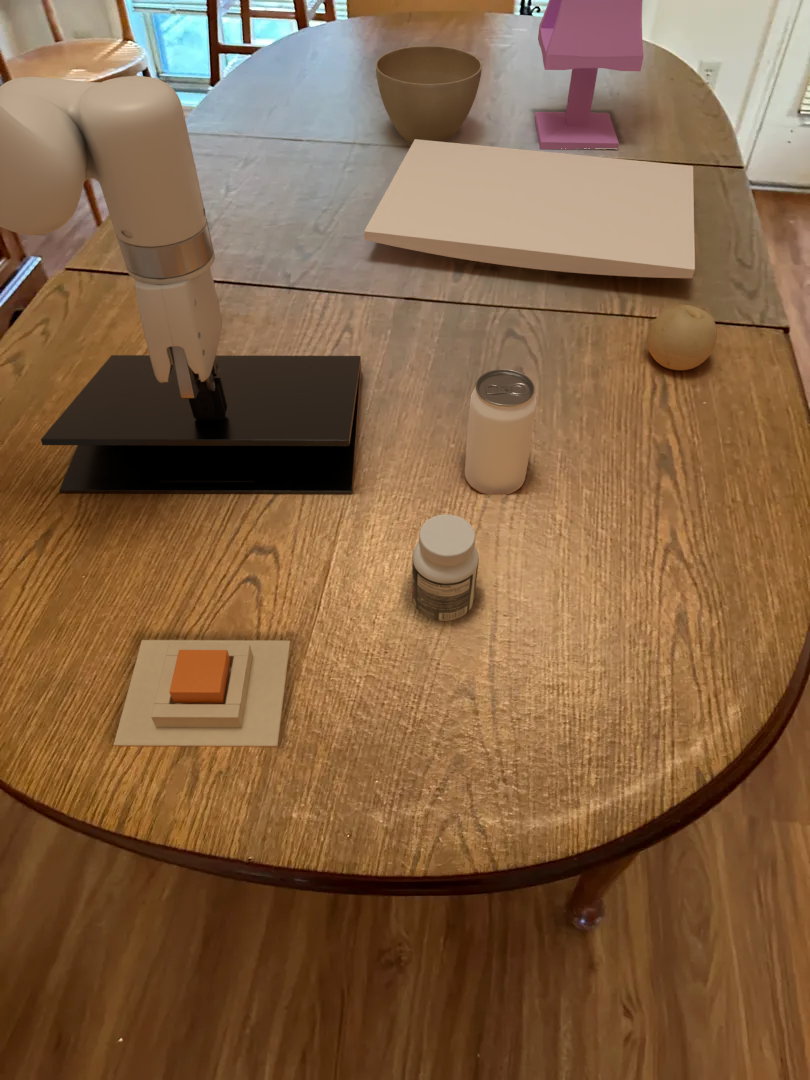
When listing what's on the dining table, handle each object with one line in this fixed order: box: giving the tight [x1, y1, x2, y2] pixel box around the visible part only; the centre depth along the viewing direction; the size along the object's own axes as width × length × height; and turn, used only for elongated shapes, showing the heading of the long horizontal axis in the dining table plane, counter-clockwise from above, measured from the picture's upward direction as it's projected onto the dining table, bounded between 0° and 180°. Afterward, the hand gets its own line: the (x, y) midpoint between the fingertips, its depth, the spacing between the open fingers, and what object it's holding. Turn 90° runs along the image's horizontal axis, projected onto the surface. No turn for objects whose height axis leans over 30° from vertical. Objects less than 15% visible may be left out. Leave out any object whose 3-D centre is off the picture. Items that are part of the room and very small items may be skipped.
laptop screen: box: [40, 354, 362, 446], centre depth 85 cm, size 22×30×1 cm
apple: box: [646, 303, 718, 371], centre depth 95 cm, size 8×8×8 cm
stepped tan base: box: [113, 639, 291, 748], centre depth 65 cm, size 13×10×3 cm
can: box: [464, 368, 537, 496], centre depth 80 cm, size 6×6×12 cm
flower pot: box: [375, 45, 483, 145], centre depth 138 cm, size 18×18×12 cm
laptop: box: [58, 362, 363, 496], centre depth 88 cm, size 22×30×2 cm
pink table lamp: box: [534, 0, 644, 150], centre depth 130 cm, size 16×16×35 cm
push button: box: [169, 650, 231, 703], centre depth 64 cm, size 4×4×2 cm
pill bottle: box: [411, 513, 480, 622], centre depth 69 cm, size 6×6×10 cm
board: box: [363, 139, 696, 279], centre depth 119 cm, size 45×32×5 cm
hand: (211, 414), depth 80 cm, fingers closed
